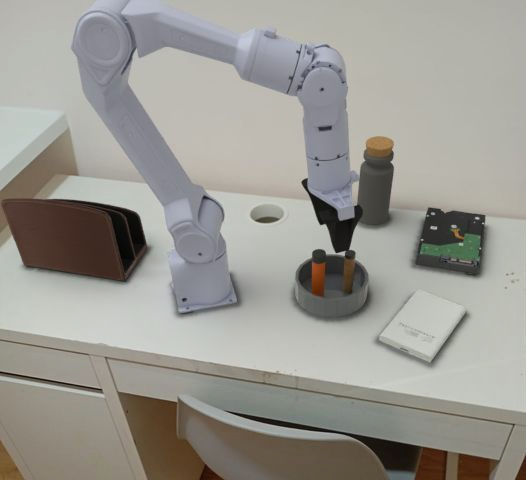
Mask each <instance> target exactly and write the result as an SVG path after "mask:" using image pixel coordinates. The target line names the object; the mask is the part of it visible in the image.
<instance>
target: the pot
mask: <svg viewBox="0 0 526 480" xmlns="http://www.w3.org/2000/svg"><path fill="white" fill-rule="evenodd" d="M344 261H345V255H342V254H338V253H335V254H333V253H330V254H329V253H326V261H325V282H324V297H321V296H316V295H314V294H312V257H310V258H308V259H306V260H305V261H303V262H302V263H301V264H300V265H299V266H298V267H297V269H296V270H295V277H294V295H295V296H294V297H295V299H296V301H297V303H298V305H299V306H300V307H301V308H302V309H303V310H305V311H306V312H307V313H309V314H312V315H313V316H317V317H321V318H327V319H328V318H329V319H337V318H343V317H347V316H350V315H352V314H354V313H356V312H358V311H359V310H360V309H361V308H362V307H363V306H364V305H365V303H366V301H367V299H368V291H369V290H368V288H369V281H370V279H369V272H368V270H367V269H366V267H365V266H364V265H363V264H362V263H361V262H360V261H358V260H357V259H355V266H354V277H353V289H352V292H351V293H344V292H343V291H342V289H343V275H344Z"/></svg>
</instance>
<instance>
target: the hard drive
mask: <svg viewBox="0 0 526 480" xmlns="http://www.w3.org/2000/svg"><path fill="white" fill-rule="evenodd" d="M466 312H467V308H466V307H465V306H463V305H461V304H459V303H455V302H453V301H450V300H448V299H445V298H443V297H440V296H437V295H435V294H432V293H430V292H428V291H425V290H422V289H416V290H415V291H414V293H413V294H412V295H411V296H410V298H409V299H408V300H407V302H406V303H405V304H404V305H403V307H402V308H401V309H400V310H399V311H398V312H397V314H396V315H395V316H394V317H393V318H392V320H391V321H390V322H389V323H388V325H387V326H386V327H385V328H384V330H383V331H382V333H380V334H379V338H378V340H379V341H380V342H382V343H384V344H387V345H389V346H392V347H393V348H395V349H398V350H400V351H402V352H404V353H406V354H409V355H412V356H413V357H416V358H418V359H421V360H422V361H425V362H428V363H432V361H433V359H434V358H435V357H436V355H437V354H438V352H439V351H440V349H441V348H442V347H443V345H444V344H445V343H446V341H447V340H448V338H449V337H450V335H451V334H452V333H453V331H454V330H455V328H456V327H457V325H458V324H460V323H459V322H461V320H462V318H464V316H465V313H466Z"/></svg>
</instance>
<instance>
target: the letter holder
mask: <svg viewBox="0 0 526 480" xmlns="http://www.w3.org/2000/svg"><path fill="white" fill-rule="evenodd" d="M0 206H1V209H2V211H3V214H4V216H5V219H6V222H7V224H8V227H9V230H10V233H11V235H12V238H13V241H14V243H15V245H16V246H15V247H16V248H17V250H18V253H19V256H20V259H21V261H22V264H23V265H24V266H25V267H31V268H32V267H33V268H39V269H46V270H52V271H58V272H59V271H60V272H66V273H72V274H77V275H83V276H89V277H96V278H103V279H109V280H115V281H121V282H126V280H127V278H128V277H129V276H130V274H131V273H132V271H133V270H134V268H135V267H136V265H137V264H138V262H139V261H140V260H141V258H142V257H143V255H144V254H145V252H146V251H147V249H148V243H147V240H146V235H145V231H144V227H143V223H142V218H141V216H140V214H139V213H138V212H137V211H135V210H132V209H129V208H126V207H122V206H118V205H112V204H108V203H107V204H106V203H102V202H95V201H89V200H88V201H87V200H79V199H71V198H70V199H68V198H24V197H23V198H17V197H16V198H4V199H2V200H1V202H0Z"/></svg>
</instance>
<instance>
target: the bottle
mask: <svg viewBox="0 0 526 480" xmlns="http://www.w3.org/2000/svg"><path fill="white" fill-rule="evenodd" d="M394 146H395V142H394V141H393V139H392V138H389V137H387V136H383V135H381V136H380V135H379V136H376V135H375V136H372V137H369V138H367V139H366V141H365V149H364V150H363V156H362V157H363V159H364V161H363V162H362V163H361V164H360V168H359V181H358V188H357V189H358V190H357V202H356V205H360V206H361V208H362V209H363V216H362V217H361V219H360V220H359V221H358V223H361V224H363V225H365V226H369V227H370V226H372V227H374V226H375V227H377V226H380V225H383V224H384V223H386V222H387V220H388V218H389V210H390V203H391V197H392V188H393V180H394V173H395V166H394V164H393V163H392V161H393V160H394V158H395V157H394V156H395V152H394V150H393V149H394V148H393V147H394Z"/></svg>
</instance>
